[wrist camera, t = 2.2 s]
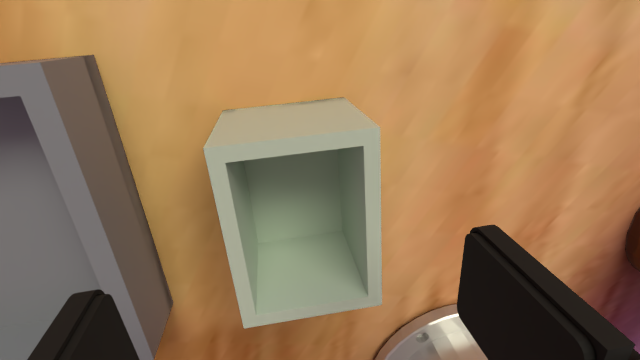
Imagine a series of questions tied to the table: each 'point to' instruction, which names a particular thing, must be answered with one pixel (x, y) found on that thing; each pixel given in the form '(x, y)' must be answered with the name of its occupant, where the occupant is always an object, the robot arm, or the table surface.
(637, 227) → the food container
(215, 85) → the table surface
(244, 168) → the small crate
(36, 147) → the big crate
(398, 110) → the table surface
